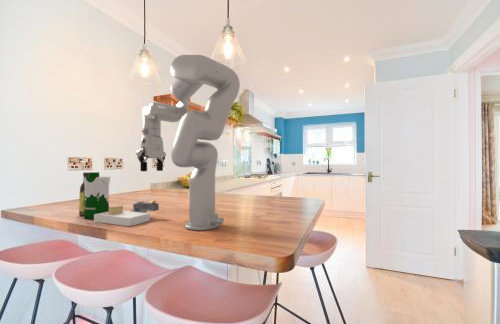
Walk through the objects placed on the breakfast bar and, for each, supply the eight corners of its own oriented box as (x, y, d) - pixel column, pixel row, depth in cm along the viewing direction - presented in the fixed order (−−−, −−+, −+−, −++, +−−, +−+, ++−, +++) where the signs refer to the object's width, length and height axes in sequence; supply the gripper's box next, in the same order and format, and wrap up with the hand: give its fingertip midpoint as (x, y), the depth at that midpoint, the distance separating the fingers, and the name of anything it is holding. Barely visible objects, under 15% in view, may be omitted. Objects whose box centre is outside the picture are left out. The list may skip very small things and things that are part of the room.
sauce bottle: (83, 216, 111) (84, 172, 111) (75, 215, 114) (75, 172, 114) (98, 213, 117) (98, 172, 117) (90, 212, 119) (90, 172, 120)
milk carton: (80, 218, 105) (80, 172, 106) (95, 214, 114) (95, 172, 115) (99, 219, 104) (99, 172, 105) (113, 214, 113) (113, 172, 114)
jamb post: (146, 216, 109) (146, 209, 109) (139, 218, 105) (139, 210, 106) (138, 215, 111) (138, 208, 111) (130, 217, 107) (130, 210, 107)
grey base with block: (149, 220, 101) (149, 206, 101) (129, 226, 92) (129, 210, 92) (115, 216, 109) (115, 203, 109) (94, 221, 100) (94, 207, 100)
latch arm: (131, 209, 107) (131, 200, 107) (139, 208, 111) (139, 199, 111) (152, 211, 102) (152, 201, 102) (159, 209, 106) (159, 200, 106)
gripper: (143, 130, 102) (143, 171, 101) (171, 135, 118) (171, 170, 118) (130, 131, 104) (130, 171, 104) (159, 136, 121) (159, 170, 120)
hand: (152, 170), depth 111 cm, fingers open, 9 cm apart
